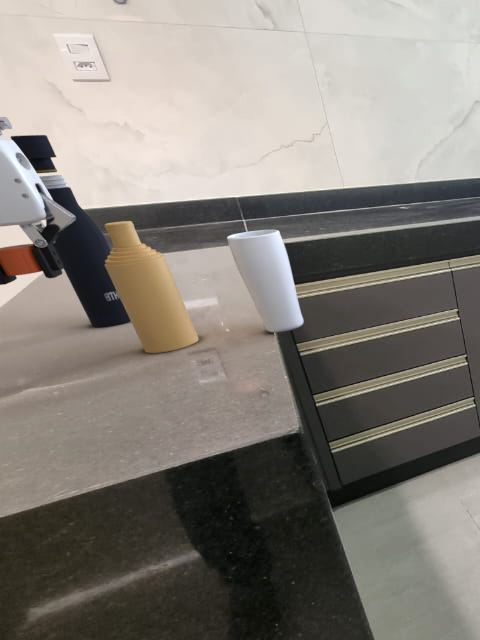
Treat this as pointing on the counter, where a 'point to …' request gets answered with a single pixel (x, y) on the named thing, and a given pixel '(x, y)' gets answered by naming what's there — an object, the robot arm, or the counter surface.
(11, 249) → the cap
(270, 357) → the counter surface
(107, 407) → the counter surface
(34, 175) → the robot arm
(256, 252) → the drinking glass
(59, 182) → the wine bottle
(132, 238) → the sauce bottle
